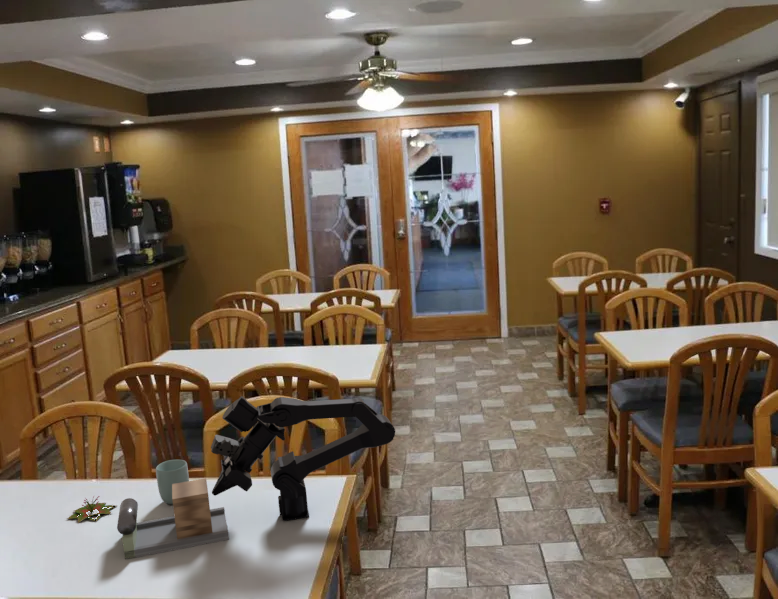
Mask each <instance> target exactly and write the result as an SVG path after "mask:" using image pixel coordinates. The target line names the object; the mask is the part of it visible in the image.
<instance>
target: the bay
mask: <svg viewBox="0 0 778 599" xmlns="http://www.w3.org/2000/svg"><path fill="white" fill-rule="evenodd" d="M138 506H139V504H138V501H137V500H135V499H134V498H132V497H131V498H130V497H128V498H125V499H124V500H122V501H121V503H120V506H119V510H118V511H119V513H118V518H117V523H116V524H117V526H116V528H117V532H118V533H120V535H122V538H121V540H122V547H123V553H124V554H123V555H124V560H129V559H133V558H139V557H145V556H149V555H150V556H151V555H154V554H155V555H156V554H160V553H166V552H170V551H175V550H180V549H186V548H191V547H197V546H201V545H206V543H207V544H211V543H218V542H222V541H223V542H224V541H226V540H230V536H229V529H228V525H227V518H226V511H225V507H224V506H223V507H217V508H210V514H211V523H212V532H213V533H208V534H203V535H198V536H193V537H187V538H182V539H177V533H176V525H175V517H174V515H173V516H167V517H163V518H157V519H152V520H146V521H145V520H144V521H140V522H137V521H138V520H137V519H138V510H139V507H138Z"/></svg>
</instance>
